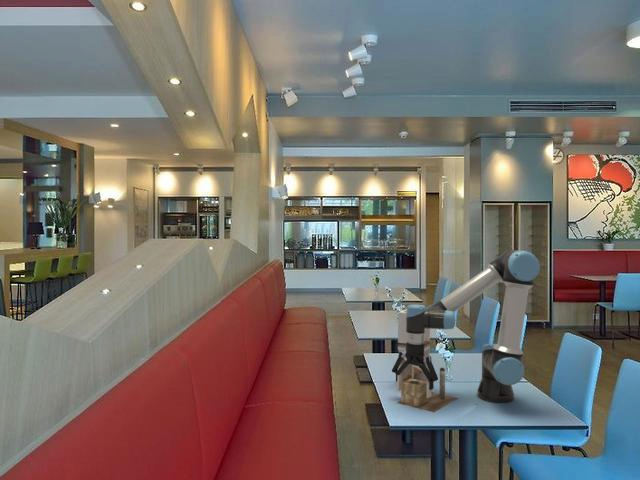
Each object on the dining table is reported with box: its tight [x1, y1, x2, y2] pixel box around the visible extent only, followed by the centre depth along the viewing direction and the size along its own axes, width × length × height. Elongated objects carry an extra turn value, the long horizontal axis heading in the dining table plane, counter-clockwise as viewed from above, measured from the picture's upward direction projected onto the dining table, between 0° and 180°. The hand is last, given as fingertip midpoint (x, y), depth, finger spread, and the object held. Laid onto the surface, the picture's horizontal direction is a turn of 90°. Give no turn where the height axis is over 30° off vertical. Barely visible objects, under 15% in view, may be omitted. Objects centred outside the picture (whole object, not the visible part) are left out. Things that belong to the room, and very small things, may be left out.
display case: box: [397, 308, 431, 382], centre depth 238 cm, size 11×11×35 cm
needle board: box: [396, 367, 459, 413], centre depth 216 cm, size 17×22×15 cm
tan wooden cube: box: [400, 379, 428, 406], centre depth 214 cm, size 8×8×8 cm
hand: (414, 393), depth 214 cm, fingers open, 13 cm apart
